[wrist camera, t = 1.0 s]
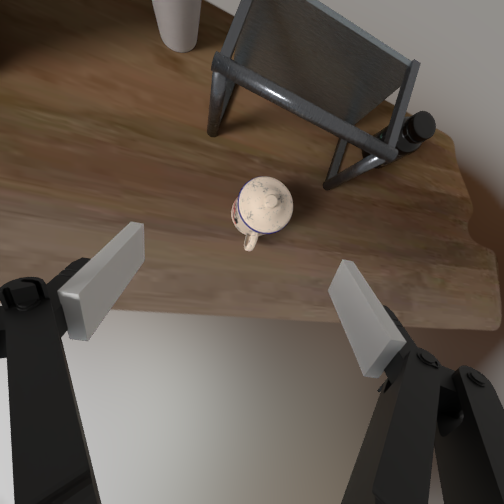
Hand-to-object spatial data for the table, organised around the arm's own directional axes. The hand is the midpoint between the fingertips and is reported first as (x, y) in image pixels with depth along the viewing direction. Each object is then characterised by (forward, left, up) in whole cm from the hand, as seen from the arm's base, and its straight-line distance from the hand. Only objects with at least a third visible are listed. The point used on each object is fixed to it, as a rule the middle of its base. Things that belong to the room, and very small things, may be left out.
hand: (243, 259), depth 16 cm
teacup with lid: (+4, +9, -29) cm, 31 cm away
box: (+4, +29, -29) cm, 41 cm away
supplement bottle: (+25, +33, -29) cm, 51 cm away
